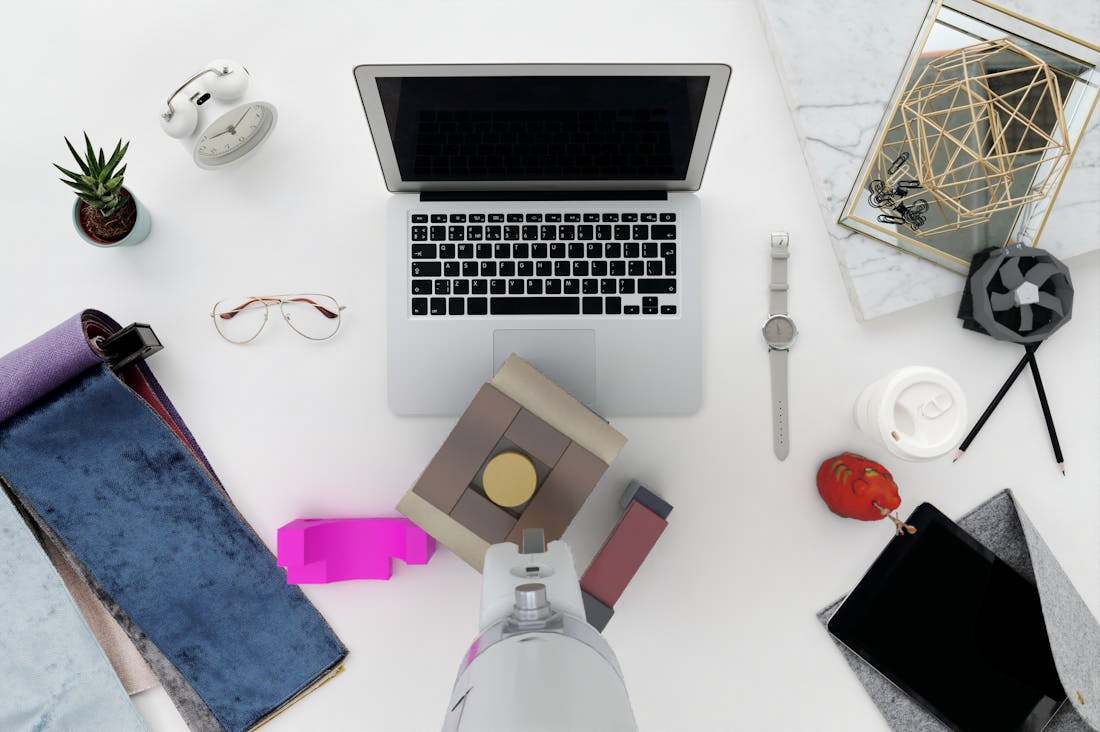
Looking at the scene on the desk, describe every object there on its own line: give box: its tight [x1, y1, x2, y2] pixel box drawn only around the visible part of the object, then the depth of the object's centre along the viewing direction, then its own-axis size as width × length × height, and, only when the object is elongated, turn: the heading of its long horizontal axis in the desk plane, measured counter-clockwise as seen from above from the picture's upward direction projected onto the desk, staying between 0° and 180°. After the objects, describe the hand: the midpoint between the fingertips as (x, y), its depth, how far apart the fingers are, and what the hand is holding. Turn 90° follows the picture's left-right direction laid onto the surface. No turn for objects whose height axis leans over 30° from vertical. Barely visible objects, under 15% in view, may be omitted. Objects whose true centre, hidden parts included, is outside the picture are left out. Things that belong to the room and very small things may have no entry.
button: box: [483, 450, 537, 507], centre depth 59 cm, size 4×4×3 cm
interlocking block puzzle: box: [394, 352, 629, 576], centre depth 72 cm, size 16×12×27 cm
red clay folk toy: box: [815, 451, 917, 537], centre depth 78 cm, size 8×7×15 cm
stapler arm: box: [578, 499, 669, 635], centre depth 76 cm, size 13×4×3 cm, turn 146°
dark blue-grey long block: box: [618, 477, 674, 521], centre depth 81 cm, size 15×6×8 cm, turn 146°
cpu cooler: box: [956, 241, 1075, 347], centre depth 84 cm, size 10×6×10 cm
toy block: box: [276, 516, 436, 585], centre depth 81 cm, size 15×6×8 cm, turn 91°
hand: (540, 590), depth 51 cm, fingers closed
